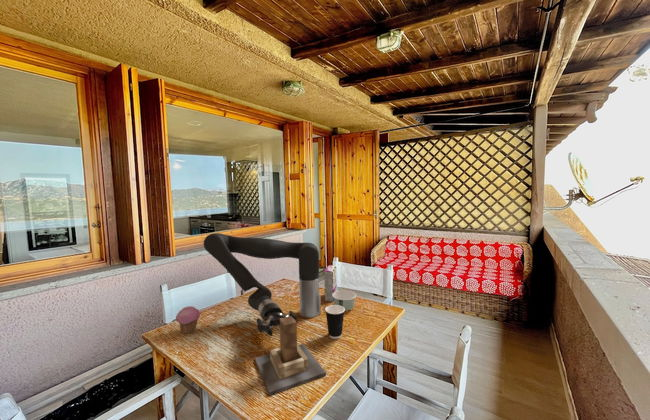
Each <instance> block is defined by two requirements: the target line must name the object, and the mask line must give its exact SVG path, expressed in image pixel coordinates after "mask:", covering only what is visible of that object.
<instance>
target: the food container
mask: <svg viewBox="0 0 650 420" xmlns="http://www.w3.org/2000/svg"><path fill="white" fill-rule="evenodd" d="M332 296H333V299H334V302H333V305H340V306H342V307H344V308H345V311H346V312H349V311H348V310H351V309H353V310H354V307H355V302H356V301H355V300H356V297H357V294H356V293H355V292H353V291H351V290H337V291H336V292H334V293H333V294H332ZM351 311H352V310H351Z"/></svg>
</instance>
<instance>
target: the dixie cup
mask: <svg viewBox="0 0 650 420" xmlns="http://www.w3.org/2000/svg"><path fill="white" fill-rule="evenodd" d="M324 311H325V315H326V322H327V324H326V325H327V331H328V335H329V338H330V339H332V340H338V339H340V338H341V337H342V335H343V325H344V318H345V312H344V311H345V308H344V307H342V306H340V305H334V304H330V305H327V306H326V307H325V308H324Z"/></svg>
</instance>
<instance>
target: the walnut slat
mask: <svg viewBox="0 0 650 420" xmlns="http://www.w3.org/2000/svg"><path fill="white" fill-rule="evenodd" d="M297 325H298V321H297V322H296V321H295V320H294V318H293V317H292V316H289V317H284V318H280V325H279V336H280V337H279V339H280V340H279V341H280V342H279V348H280V354H281V361H282V363H283V364H284V363H287V362H290V361H293V360H297V344H298V326H297Z"/></svg>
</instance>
